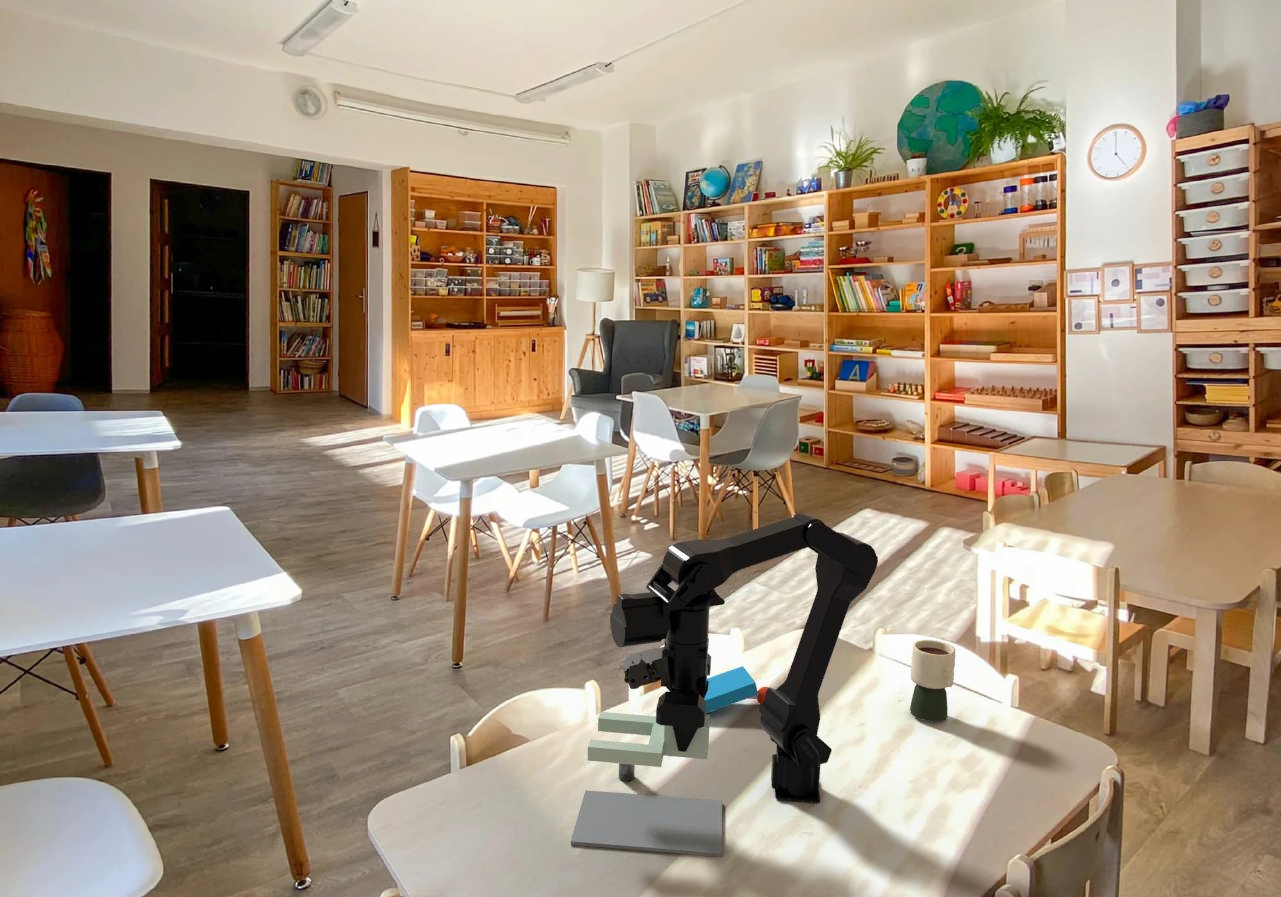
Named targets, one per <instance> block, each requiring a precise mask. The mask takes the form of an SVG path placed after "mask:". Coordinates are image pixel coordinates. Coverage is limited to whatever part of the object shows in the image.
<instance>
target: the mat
mask: <svg viewBox="0 0 1281 897" xmlns="http://www.w3.org/2000/svg"><path fill="white" fill-rule="evenodd" d="M722 839H723V800H721V799H710V798H709V799H708V798H707V799H706V798H695V797H694V798H693V797H681V796H679V797H678V796H667V795H656V794H655V795H654V794H641V793H640V794H639V793H629V792H628V793H625V792H613V791H611V792H610V791H600V790H588V789H587V790H584V794H583V798H582V801H581V804H580V808H579V811H578V816H577V819H576V821H575V825H574V829H573V833H572V836H571V839H570V845H571V846H585V847H593V848H594V847H596V848H597V847H598V848H607V849H610V848H611V849H620V850H631V851H645V852H646V851H647V852H658V853H670V854H682V855H693V856H694V855H695V856H705V857H706V856H707V857H718V858H721V857H722V854H723V853H722V851H723V848H722V846H723V843H722V841H723V840H722Z"/></svg>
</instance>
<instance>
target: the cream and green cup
mask: <svg viewBox="0 0 1281 897" xmlns="http://www.w3.org/2000/svg"><path fill="white" fill-rule="evenodd" d="M911 655H912V656H911V665H910V680H911V681H912V682H913V684H915V685H914V690H913V693H912V698H911V702H910V706H909V711H911V712H910V714H911V715H912V716H913V717H915V718H916V719H918V720H922V721H928V722H929V721H930V722H938V721H939V722H940V721H946V720H947V719H946V718H948V697H947V696H948V694H947V690H946V688H952V687H953V686H954V679H955V678H954V676H955V667H956V648H955V647H954V646H953V645H951V644H949V643H946V642H943V641H941V640H934V639H921V640H916V641H915V642H913V644H912V654H911Z"/></svg>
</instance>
